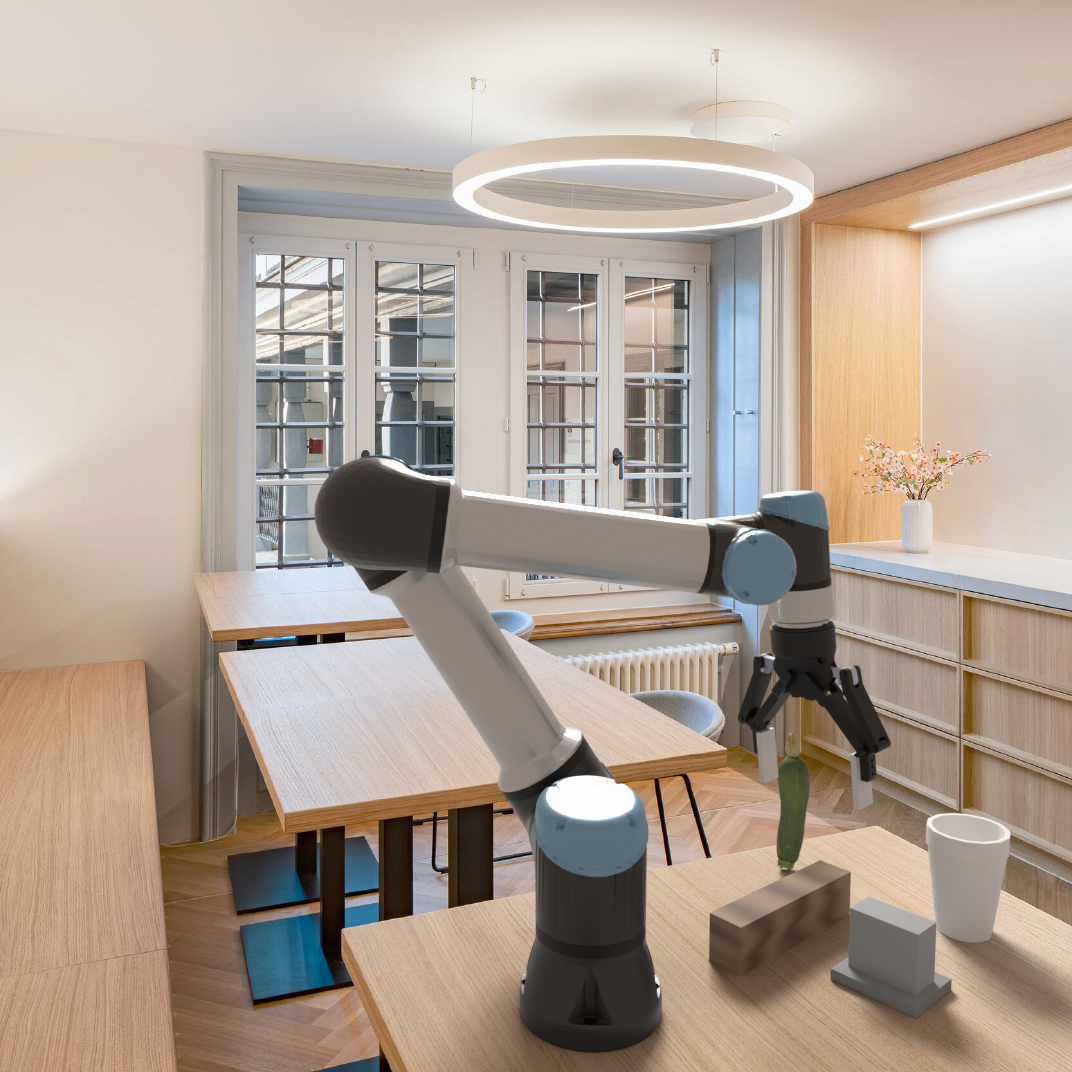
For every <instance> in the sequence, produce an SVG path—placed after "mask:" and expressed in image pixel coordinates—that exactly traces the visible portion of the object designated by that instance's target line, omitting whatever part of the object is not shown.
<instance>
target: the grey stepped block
mask: <svg viewBox="0 0 1072 1072" xmlns="http://www.w3.org/2000/svg"><path fill="white" fill-rule="evenodd" d="M936 923H937V922H936V921H934V920H932V919H929V918H926V917H924V916H921V915H918V914H915V913H913V912H910V911H908V910H905V909H902V908H901V907H900V908H899V907H897V906H894V905H892V904H889V903H887V902H884V901H881V900H878V899H876V898H873V897H870V896H868V897H865V899H863V900H861V901H859V902H857V903H856V904H854V905H853V906H851V907H850V915H849V927H848V928H849V931H848V932H849V933H848V935H849V937H848V956H847V957H846V958H844V959H843V960H842V961H840V962H838V963H837V964H835V965H834V966H833V967H831V968H830V980H832V981H833V982H836V983H838V984H841V985H843V986H845V987H848V988H850V989H852V990H853V991H856V992H858V993H860V994H863V995H864V996H867V997H869V998H871V999H873V1000H875V1001H877V1002H880V1003H882V1004H884V1005H887V1006H888V1007H891V1008H892V1009H895V1010H898V1011H900V1012H902V1013H903V1014H906V1015H908V1016H910V1017H913V1018H915V1019H917V1018H918V1017H919V1016H920V1015H922V1014H923V1013H924V1012H925V1011H926V1010H928V1009H930V1007H932V1005H934V1004H935V1003H936V1002H937V1001H939V1000H940V999H941V998H942V997H944V996H946V995H947V993H948V992H949V991H951V990H952V982H953V981H952V978H950V977H948V976H946V975H943V974H941V973H939V972H936V971H935V970H936V969H935V968H936V967H935V966H936V948H937V947H936V945H937V943H936V942H937V927H936Z"/></svg>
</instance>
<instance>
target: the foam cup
mask: <svg viewBox="0 0 1072 1072" xmlns="http://www.w3.org/2000/svg"><path fill="white" fill-rule="evenodd" d="M925 825H926V829H925V830H926V831H925V844H926V845H927V850H928V859H929V860H928V861H929V870H930V880H931V881H930V882H931V889H932V891H931V892H932V899H933V911H934V919H935V921H934V922H937V923H936V929H938V931H939V933H941V934H942V935H944V936H946V937H948V938H950V939H953V940H955V941H959V942H963V943H972V944H973V943H974V944H977V943H985V942H984V941H986V942H987V941H989V940H991V939H992V934H993V931H994V927H995V921H996V917H997V916H996V915H997V911H998V906H999V901H1000V896H1001V891H1002V885H1003V880H1004V876H1005V870H1006V865H1007V860H1008V858H1009V857H1010V847H1011V846H1010V845H1011V830H1009V829H1008V828H1007V827H1006V826H1004V825H1003V824H1002V823H999V822H997V821H995V820H992V819H990V818H987V817H983V816H977V815H975V814H969V813H959V812H958V813H957V812H956V813H955V812H947V813H938V814H935V815H933V816H930V817H928V818H927V820H926V824H925Z"/></svg>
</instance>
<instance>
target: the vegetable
mask: <svg viewBox="0 0 1072 1072" xmlns="http://www.w3.org/2000/svg"><path fill="white" fill-rule="evenodd" d="M797 739H798V738H797V737H796V736H795V732H790V733H788V736H787V739H786V743H785V747H784V752H785V753H786V757H784V758H783V759H782V760H781V762H780V763H779V765H778V778H777V782H778V783H777V784H778V791H779V798H780V814H779V821H778V828H777V832H776V834H777V835H776V856H777V866H778V867H779V868H780V869H783V868H784V869H788V870H792V869H793V868H794V866H795V863H796V862H797V861H798V860H799V857H800V853H801V850H802V846H803V841H804V838H805V837H804V836H805V825H806V824H805V823H806V817H807V810H808V803H809V800H810V799H809V798H810V772H809V768H808V765H807V763H806V762H805V760H804V759H803V758H801V757H799V755H800V750H799V746H798V740H797Z"/></svg>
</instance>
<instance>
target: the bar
mask: <svg viewBox="0 0 1072 1072" xmlns="http://www.w3.org/2000/svg"><path fill="white" fill-rule="evenodd" d="M851 877H852V872H851V871H850V870H847V869H844V868H842V867H839V866H837V865H833V864H832V863H828V862H826V861H824V860H821V859H820V860H817V861H816V862H813V863H811V864H810V865H807V866H805V867H803V868H801V869H798V870H797V871H794V872H792V873H790V874H788V875H786V876H783V877H782V878H780V879H778V880H776V881H774V882H772V883H769V884H767V885H766V886H763V887H761V888H758V889H757V890H755V891H753V892H751V893H748V894H747V895H744V896H742V897H740V898H738V899H736V900H734V901H732V902H729V903H728V904H725V905H723V906H721V907H719V908H717V909H714V910H713V911H711V912H709V930H708V931H709V935H708V936H709V939H708V941H709V944H708V945H709V946H708V947H709V948H708V950H709V951H708V960H709V961H710V962H711V963H713V964H716V965H717V966H718V967H719V966H720V967H721V968H722V969H725V970H727V971H729V972H731V973H732V974H735V975H736V976H738V977H743V975H745V974H748V973H749V972H751V971H752V970H755V969H756V968H758V967H760V966H762V965H763V964H765V963H767V962H769V961H770V960H772V959H774V958H775V957H777V955H778V956H780V955H782V954H783V953H784V952H786V951H788V950H789V949H792V948H793V947H795V946H798V945H799V944H800V943H803V942H804V941H806V940H808V939H809V938H811V937H813V936H815V935H817V934H819V933H820V932H822V931H824V930H825V929H827V928H829V927H831V926H833V925H835V924H837V923H838V922H840V921H842V920H844V919H845V918H848V917H850V908H851V907H850V906H851V882H852V881H851V880H852V878H851Z"/></svg>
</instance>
